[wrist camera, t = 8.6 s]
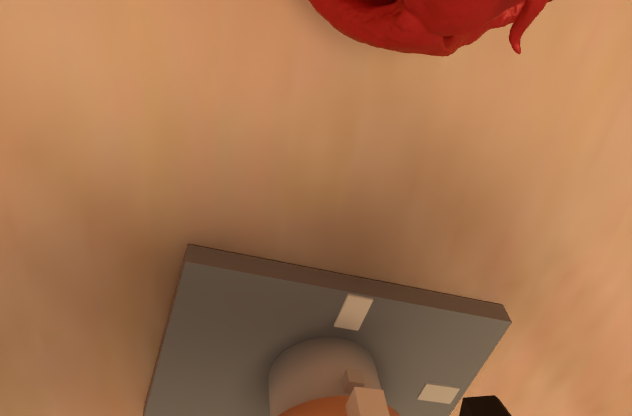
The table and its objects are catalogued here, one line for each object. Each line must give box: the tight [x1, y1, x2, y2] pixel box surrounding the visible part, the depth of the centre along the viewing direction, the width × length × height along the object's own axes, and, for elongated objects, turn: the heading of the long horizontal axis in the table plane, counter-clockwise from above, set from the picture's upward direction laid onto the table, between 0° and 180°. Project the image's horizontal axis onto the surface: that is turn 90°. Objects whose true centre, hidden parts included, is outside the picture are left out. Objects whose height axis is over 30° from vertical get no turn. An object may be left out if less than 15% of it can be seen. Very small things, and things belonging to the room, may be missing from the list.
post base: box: [143, 244, 512, 416], centre depth 23 cm, size 13×9×4 cm
